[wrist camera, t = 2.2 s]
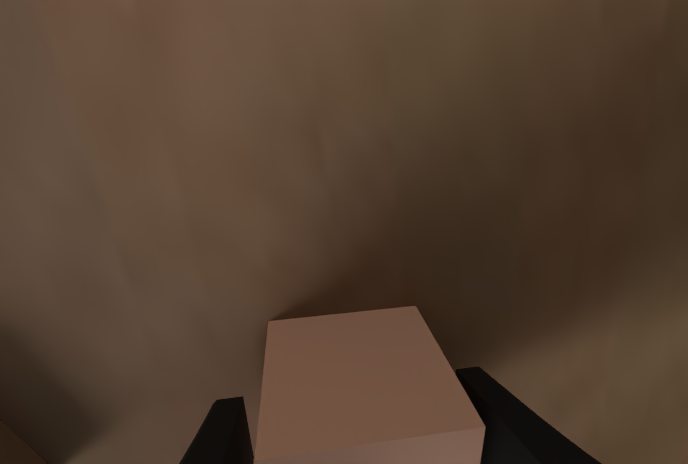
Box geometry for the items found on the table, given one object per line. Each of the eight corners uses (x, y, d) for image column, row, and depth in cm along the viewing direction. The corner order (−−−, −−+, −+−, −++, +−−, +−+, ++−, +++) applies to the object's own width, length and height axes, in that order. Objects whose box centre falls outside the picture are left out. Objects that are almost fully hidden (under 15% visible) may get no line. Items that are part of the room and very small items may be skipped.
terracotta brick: (414, 304, 10) (485, 426, 6) (410, 412, 12) (465, 562, 8) (268, 319, 10) (254, 460, 6) (282, 430, 11) (278, 598, 7)
